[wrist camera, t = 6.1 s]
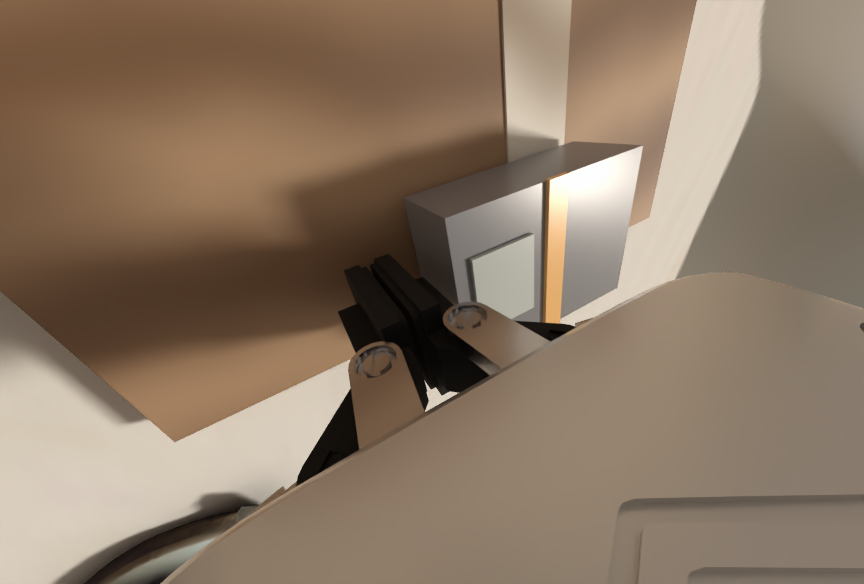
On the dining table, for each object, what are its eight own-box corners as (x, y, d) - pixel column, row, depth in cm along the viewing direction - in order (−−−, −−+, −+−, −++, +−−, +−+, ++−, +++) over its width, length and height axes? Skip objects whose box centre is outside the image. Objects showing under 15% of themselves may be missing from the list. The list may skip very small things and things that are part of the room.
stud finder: (402, 195, 11) (446, 218, 8) (573, 140, 13) (647, 143, 11) (433, 328, 14) (471, 371, 12) (565, 264, 16) (620, 290, 14)
